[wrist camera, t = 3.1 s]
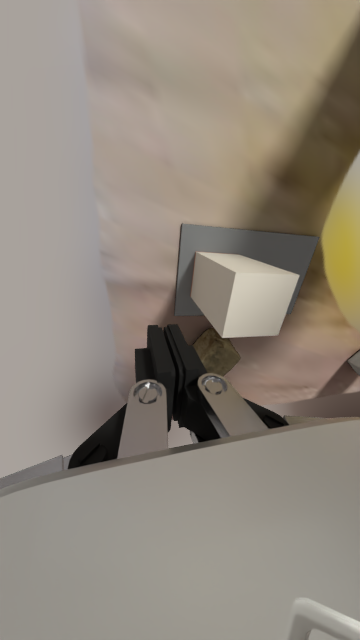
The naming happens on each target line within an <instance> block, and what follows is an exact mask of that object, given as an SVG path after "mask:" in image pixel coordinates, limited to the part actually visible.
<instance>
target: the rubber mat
mask: <svg viewBox="0 0 360 640" xmlns="http://www.w3.org/2000/svg"><path fill="white" fill-rule="evenodd" d="M318 240H319V237H314V236H303V235H293V234H283V233H272V232H262V231H252V230H241V229H231V228H221V227H210V226H200V225H190V224H182V228H181V240H180V252H179V264H178V276H177V288H176V300H175V313H174V315H175V316H201V315H204V314H203V312H202V311H201V310H200V308H199V307H198V306H197V305H196V303H195V302H194V301H193V299H192V298H191V297H190V295H191V286H192V277H193V269H194V260H195V252H210V253H226V254H239V255H242V256H245V257H248V258H251V259H254V260H257V261H260V262H263V263H265V264H268V265H271V266H274V267H277V268H280V269H283V270H286V271H289V272H292V273H295V274H298V275H300V276H299V278H298V281H297V284H296V287H295V290H294V292H293V295H292V298H291V301H290V303H289V306H288V309H287V312H286V314H291V312H292V310H293V307H294V304H295V302H296V299H297V296H298V294H299V291H300V288H301V285H302V283H303V280H304V277H305V275H306V272H307V269H308V267H309V264H310V261H311V259H312V256H313V253H314V251H315V248H316V245H317V243H318Z"/></svg>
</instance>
